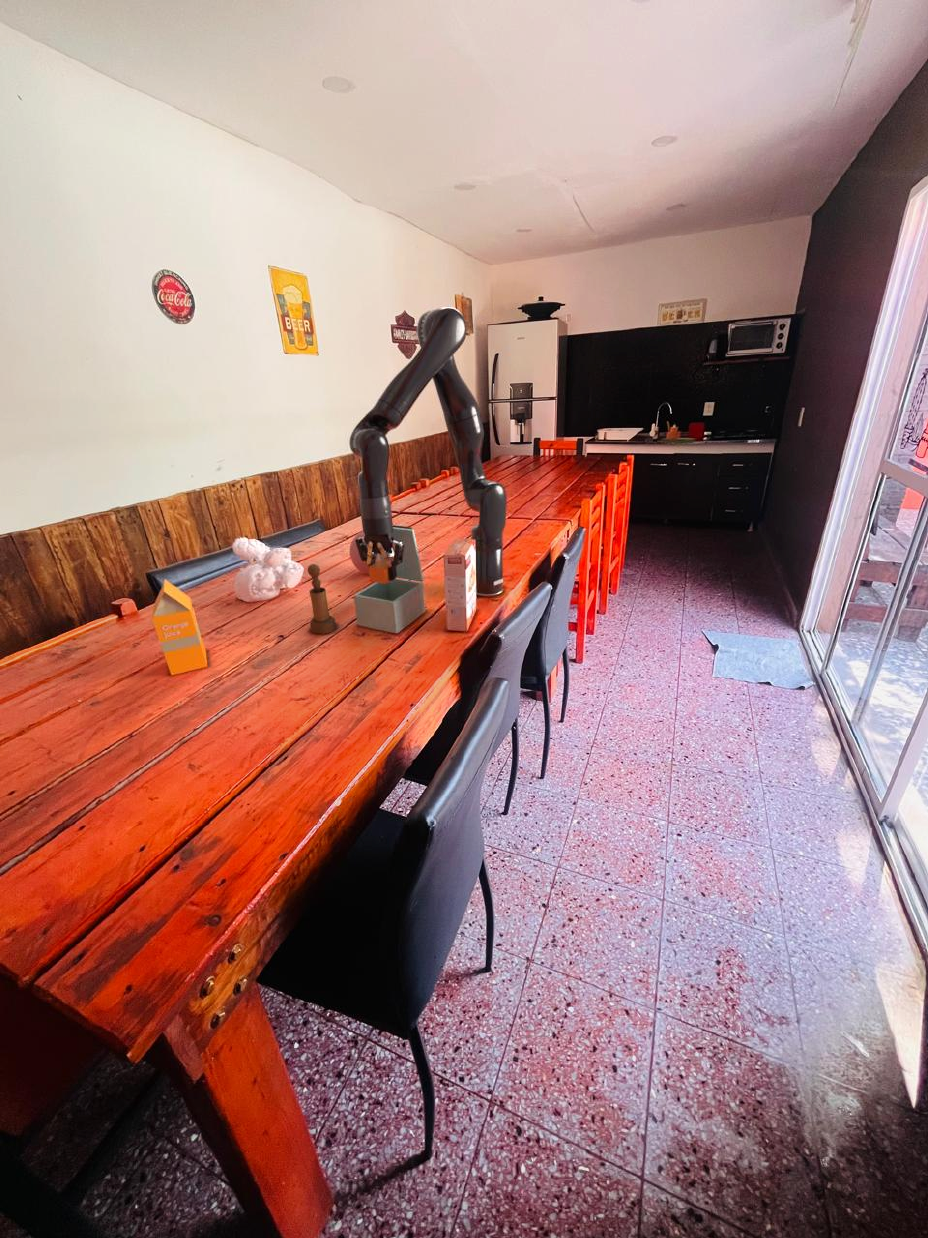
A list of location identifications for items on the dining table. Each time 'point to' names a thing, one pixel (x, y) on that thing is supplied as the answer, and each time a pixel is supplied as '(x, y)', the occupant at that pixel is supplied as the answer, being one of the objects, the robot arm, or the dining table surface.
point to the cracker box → (460, 584)
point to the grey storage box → (390, 605)
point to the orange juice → (178, 630)
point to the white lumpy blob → (264, 570)
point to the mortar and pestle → (319, 605)
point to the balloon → (356, 557)
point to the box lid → (407, 554)
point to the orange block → (379, 572)
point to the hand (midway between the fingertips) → (383, 577)
